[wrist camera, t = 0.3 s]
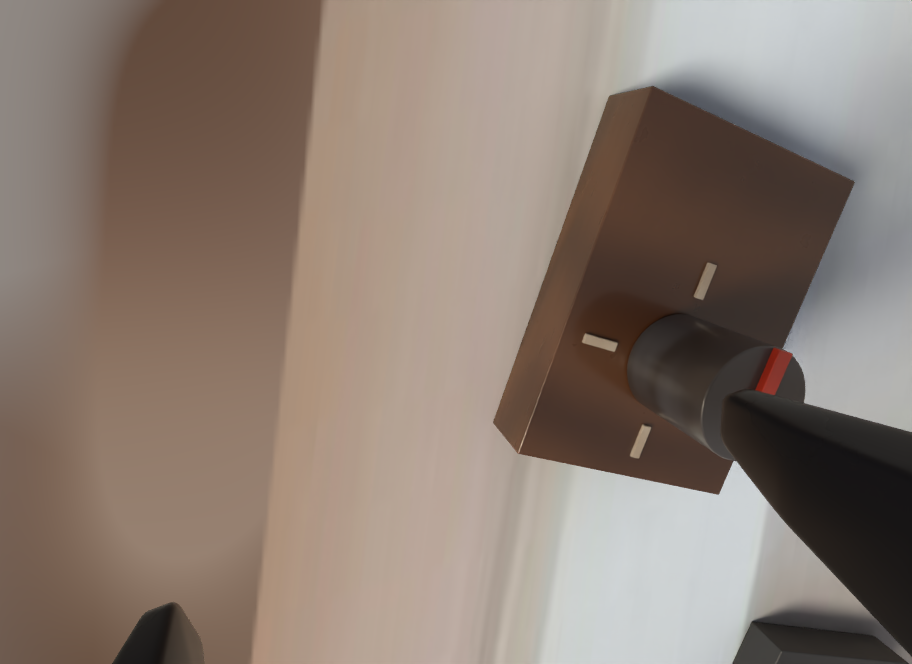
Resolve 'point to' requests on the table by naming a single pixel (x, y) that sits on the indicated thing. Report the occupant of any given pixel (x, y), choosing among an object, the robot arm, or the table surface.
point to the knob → (705, 374)
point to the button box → (811, 647)
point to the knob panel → (662, 278)
